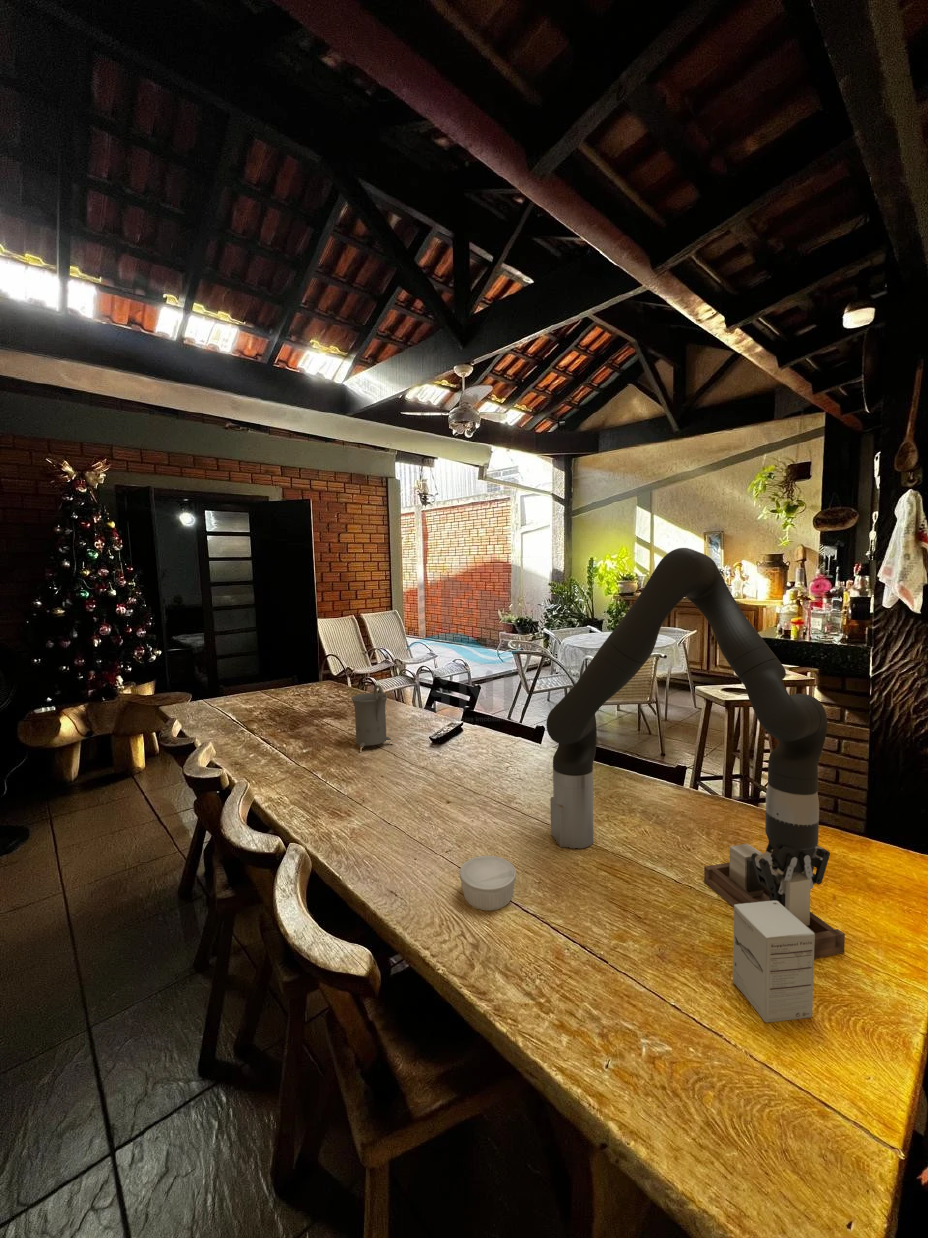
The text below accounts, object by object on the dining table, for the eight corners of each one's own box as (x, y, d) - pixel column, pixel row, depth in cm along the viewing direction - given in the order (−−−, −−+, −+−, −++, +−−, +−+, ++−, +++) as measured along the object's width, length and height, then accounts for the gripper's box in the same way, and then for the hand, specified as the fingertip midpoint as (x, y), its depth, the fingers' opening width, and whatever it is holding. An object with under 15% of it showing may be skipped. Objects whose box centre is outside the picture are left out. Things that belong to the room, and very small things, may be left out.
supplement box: (730, 982, 75) (731, 902, 74) (776, 977, 76) (778, 898, 75) (764, 1025, 68) (765, 937, 67) (815, 1019, 68) (816, 932, 68)
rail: (797, 962, 79) (798, 907, 78) (704, 881, 100) (704, 837, 99) (844, 952, 80) (845, 898, 80) (742, 875, 102) (743, 832, 101)
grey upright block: (789, 929, 83) (790, 883, 82) (767, 911, 87) (768, 867, 87) (809, 925, 84) (810, 879, 83) (786, 907, 88) (787, 864, 87)
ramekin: (500, 923, 90) (499, 895, 89) (449, 903, 96) (448, 877, 95) (526, 890, 99) (525, 864, 99) (478, 874, 105) (477, 850, 105)
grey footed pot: (344, 745, 193) (341, 682, 191) (378, 737, 202) (375, 676, 200) (366, 757, 178) (363, 689, 177) (401, 748, 188) (399, 683, 186)
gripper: (773, 828, 79) (771, 930, 80) (847, 817, 81) (844, 916, 83) (738, 807, 86) (737, 901, 87) (807, 798, 89) (805, 890, 90)
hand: (789, 908), depth 85 cm, fingers open, 4 cm apart
